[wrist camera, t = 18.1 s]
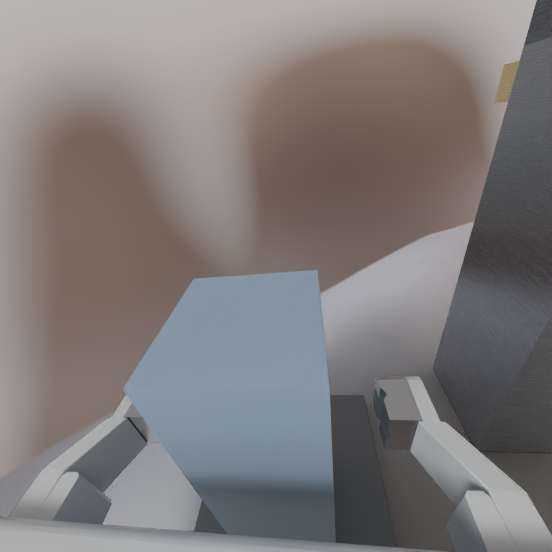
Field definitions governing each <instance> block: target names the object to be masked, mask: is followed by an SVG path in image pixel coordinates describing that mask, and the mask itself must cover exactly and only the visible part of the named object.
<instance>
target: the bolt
mask: <svg viewBox="0 0 552 552" xmlns="http://www.w3.org/2000/svg"><path fill="white" fill-rule="evenodd" d="M519 62H520V61H519ZM519 62H514V63H510V64H506V65H504V68H503V72H502V76H501V80H500V84H499V87H498V91H497V95H496V99H495V103H496V102H508V101H509V97H510V94H511V90H512V87H513V83H514V80H515V76H516V73H517V69H518V66H519Z"/></svg>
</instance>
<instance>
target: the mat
mask: <svg viewBox="0 0 552 552" xmlns="http://www.w3.org/2000/svg"><path fill="white" fill-rule="evenodd" d="M330 409H331V435H332V460H333V485H334V510H335V536H336V543H346V544H359V545H372V546H384V547H397V545H396V541H395V536H394V532H393V527H392V523H391V518H390V513H389V509H388V504H387V500H386V495H385V491H384V486H383V482H382V477H381V472H380V468H379V463H378V459H377V454H376V450H375V445H374V441H373V436H372V431H371V427H370V422H369V418H368V413H367V409H366V404H365V400H364V396H330ZM194 532H205V533H218V534H227V533H226V532H225V530H224V529H223V528H222V526H221V525H220V523H219V522H218V521H217V519H216V518H215V516H214V515H213V514H212V512H211V511H210V510H209V508H208V507H207V505H206V504H205V503H204V501H203V500H202V503H201V507H200V511H199V515H198V519H197V523H196V527H195V531H194Z"/></svg>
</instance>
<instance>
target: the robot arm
mask: <svg viewBox="0 0 552 552" xmlns="http://www.w3.org/2000/svg"><path fill="white" fill-rule="evenodd" d="M374 383H375V387H376V389H374V393H373V399H374V407H375V412H376V416H377V417H378V418H379V419H380V420H381V422H380V432H381V436H382V440H383V444H384V448H389V449H407V450H410V452H411V453H412V454H413V455H414V456H415V458H416V459H417V460H418V461H419V463H420V464H421V465H422V466H423V467H424V469H425V470H426V471H427V472H428V474H429V475H430V476H431V477H432V478H433V480H434V481H435V482H436V483H437V485H438V486H439V487H440V488H441V489H442V491H443V492H444V493H445V494H446V496H447V497H448V498H449V499H450V501H451V502H452V503H453V504H454V505H455V507H456V509H455V511H454V513H453V514H452V516H451V518H450V519H449V521H448V523H447V524H446V527H447V530H448V533H449V536H450V539H451V542H452V545H453V548H454V551H455V552H552V535H551V533H550V532H549V530H548V528H547V526H546V525H545V523H544V521H543V520H542V518H541V516H540V515H539V513H538V511H537V510H536V508H535V506H534V504H533V503H532V501H531V499H530V498H529V496H528V494H527V493H526V491H524V490H523V489H522V488H521V487H520V486H519V485H518V484H516V483H515V482H514V481H513V480H512V479H511V478H510V477H508V476H507V475H506V474H505V473H504V472H503V471H502V470H500V469H499V468H498V467H497V466H496V465H495V464H494V463H492V462H491V461H490V460H489V459H488V458H487V457H486V456H484V455H483V454H482V453H481V452H480V451H479V450H478V449H476V448H475V447H474V446H473V445H472V444H471V443H470V442H468V441H467V440H466V439H465V438H464V437H463V436H462V435H460V434H459V433H458V432H457V431H456V430H455V429H454V428H452V427H451V426H450V425H449V424H448V423H447V422H443V421H441V420H440V418H439V416H438V414H437V412H436V410H435V407H434V405H433V403H432V401H431V399H430V396H429V394H428V392H427V390H426V388H425V385H424V383H423V381H422V379H421V378H420V377H419V376H405V377H404V376H385V377H376V378H375V382H374ZM156 442H160V440H159V439H158V438H157V436H156V435H155V434H154V432H153V431H152V429H151V428H150V427H149V425H148V424H147V423H146V421H145V420H144V418H143V417H142V416H141V414H140V413H139V411H138V410H137V409H136V407H135V406H134V405H133V403H132V402H131V400H130V399H129V398H128V396H127V395H125V397H124V399H123V400H122V402H121V403H120V405H119V406H118V408H117V409H116V411H115V413H114V414H113V416H112V417H108V418H107V419H106V420H104V421H103V422H102V423H101V424H99V425H98V426H97V427H95V428H94V429H93V430H92V431H90V432H89V433H88V434H87V435H85V436H84V437H83V438H81V439H80V440H79V441H78V442H76V443H75V444H74V445H73V446H71V447H70V448H69V449H67V450H66V451H65V452H64V453H62V454H61V455H60V456H59V457H57V458H56V459H55V460H54V461H52V462H51V463H50V464H48V465H47V466H46V467H45V468H43V469H42V471H41V472H40V473H39V475H38V476H37V478H36V479H35V480H34V482H33V483H32V484H31V486H30V487H29V488H28V490H27V491H26V493H25V494H24V495H23V497H22V498H21V499H20V501H19V502H18V503H17V505H16V506H15V508H14V509H13V510H12V512H11V513H10V514H9V516H8V517H1V516H0V552H448V551H436V550H423V549H410V548H397V547H384V546H372V545H359V544H346V543H333V542H320V541H308V540H295V539H282V538H269V537H256V536H244V535H231V534H218V533H205V532H192V531H180V530H167V529H154V528H141V527H129V526H116V525H103V524H102V523H103V521H104V519H105V517H106V515H107V513H108V511H109V508H110V506H111V504H112V503H111V499H110V498H108V497H107V496H106V495H105V494H104V493H103V492H104V491H105V490H106V489H107V488H108V486H109V485H110V484H111V483H112V482H113V481H114V480H115V479H116V478H117V477H118V475H119V474H120V473H121V472H122V471H123V470H124V469H125V468H126V467H127V466H128V464H129V463H130V462H131V461H132V460H133V459H134V458H135V457H136V456H137V454H138V453H139V452H140V451H141V450H142V449H143V448H144V447H145V446H146V445H147V443H156Z"/></svg>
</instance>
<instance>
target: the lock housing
mask: <svg viewBox="0 0 552 552" xmlns="http://www.w3.org/2000/svg"><path fill="white" fill-rule="evenodd" d="M433 369H434V371H435V373H436V375H437V377H438V379H439V380H440V382H441V384H442V386H443V388H444V390H445V392H446V394H447V396H448V398H449V400H450V402H451V404H452V406H453V408H454V410H455V412H456V413H457V415H458V417H459V419H460V421H461V423H462V425H463V427H464V429H465V431H466V433H467V435H468V437H469V439H470V441H471V443H472V445H473V446H474V447H475V448H476V449H478V450H479V451H492V452H532V453H552V0H537V2H536V5H535V9H534V12H533V16H532V20H531V23H530V27H529V30H528V34H527V37H526V41H525V45H524V48H523V51H522V55H521V58H520V62H519V66H518V69H517V73H516V76H515V80H514V83H513V87H512V90H511V94H510V97H509V101H508V105H507V108H506V112H505V115H504V119H503V122H502V126H501V129H500V133H499V136H498V140H497V144H496V147H495V151H494V154H493V158H492V161H491V165H490V168H489V172H488V176H487V179H486V183H485V186H484V190H483V193H482V197H481V200H480V204H479V207H478V211H477V214H476V218H475V222H474V225H473V229H472V232H471V236H470V239H469V243H468V246H467V250H466V253H465V257H464V260H463V264H462V268H461V271H460V275H459V278H458V282H457V285H456V289H455V292H454V296H453V299H452V303H451V307H450V310H449V314H448V317H447V321H446V324H445V328H444V331H443V335H442V338H441V342H440V346H439V349H438V353H437V356H436V360H435V363H434V367H433Z"/></svg>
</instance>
